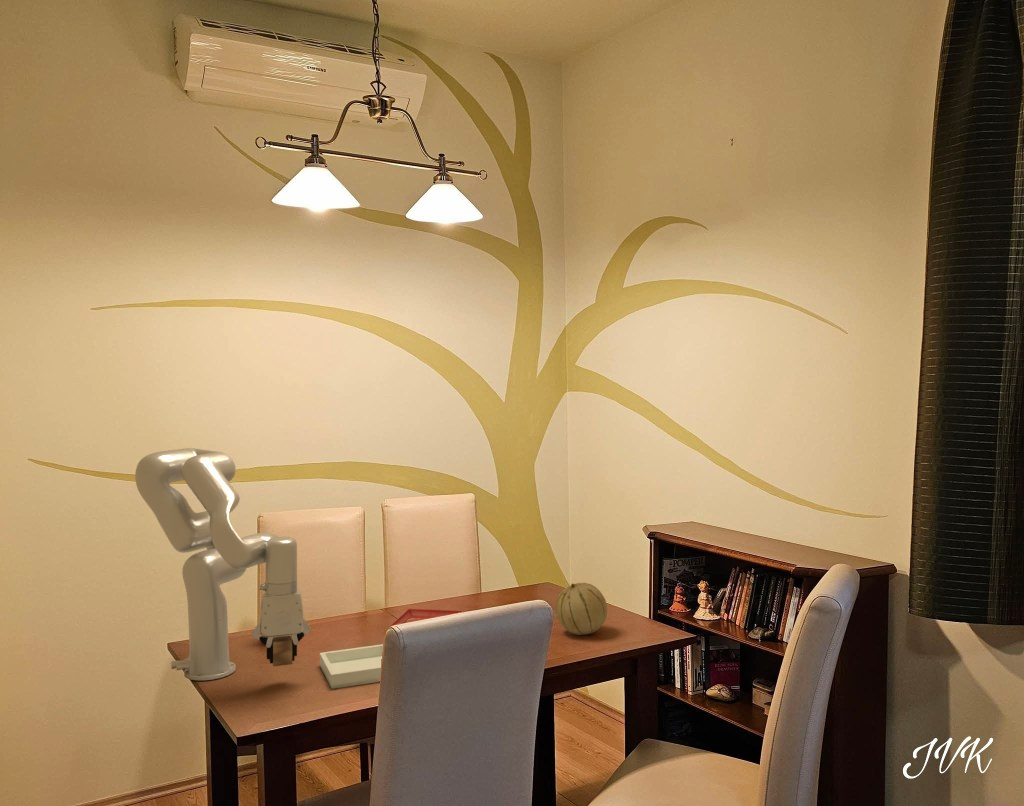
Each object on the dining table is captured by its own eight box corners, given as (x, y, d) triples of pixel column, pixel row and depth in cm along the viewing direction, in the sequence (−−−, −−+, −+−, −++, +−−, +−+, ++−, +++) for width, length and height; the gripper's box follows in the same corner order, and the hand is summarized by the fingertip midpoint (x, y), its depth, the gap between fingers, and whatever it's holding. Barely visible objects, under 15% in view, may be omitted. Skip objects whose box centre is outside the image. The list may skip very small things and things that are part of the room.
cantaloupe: (618, 633, 253) (617, 581, 252) (583, 645, 243) (582, 591, 242) (580, 622, 264) (579, 573, 263) (545, 633, 254) (544, 582, 253)
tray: (331, 689, 214) (331, 674, 214) (320, 666, 231) (319, 652, 230) (404, 678, 220) (403, 664, 220) (387, 656, 237) (387, 643, 237)
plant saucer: (448, 639, 252) (448, 628, 252) (388, 636, 256) (388, 625, 256) (464, 621, 270) (464, 610, 270) (408, 619, 273) (408, 608, 273)
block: (273, 666, 215) (273, 642, 215) (271, 660, 219) (271, 636, 219) (292, 664, 216) (292, 640, 216) (289, 658, 221) (289, 634, 220)
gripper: (246, 594, 210) (247, 669, 211) (318, 588, 216) (318, 661, 217) (244, 586, 217) (245, 659, 218) (313, 581, 223) (314, 651, 224)
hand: (281, 659), depth 218 cm, fingers closed on block, 4 cm apart
